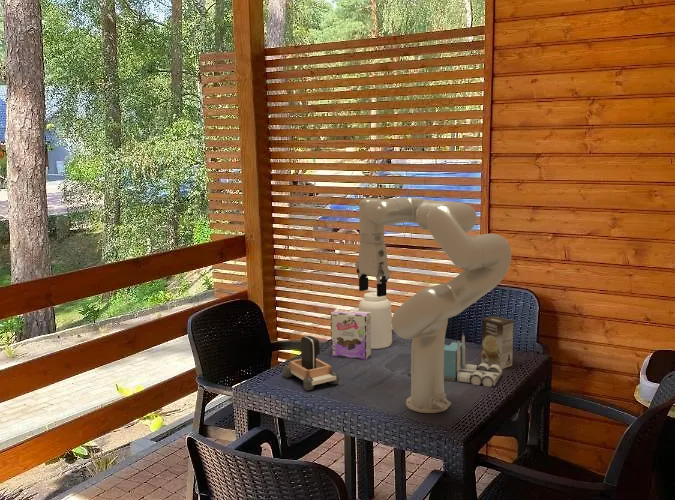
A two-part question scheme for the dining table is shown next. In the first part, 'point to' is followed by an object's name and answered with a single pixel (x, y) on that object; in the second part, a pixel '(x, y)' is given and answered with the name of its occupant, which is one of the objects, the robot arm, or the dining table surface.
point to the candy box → (351, 334)
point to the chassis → (311, 373)
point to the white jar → (378, 319)
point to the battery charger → (309, 352)
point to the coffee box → (497, 341)
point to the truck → (467, 367)
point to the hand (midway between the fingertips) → (372, 293)
